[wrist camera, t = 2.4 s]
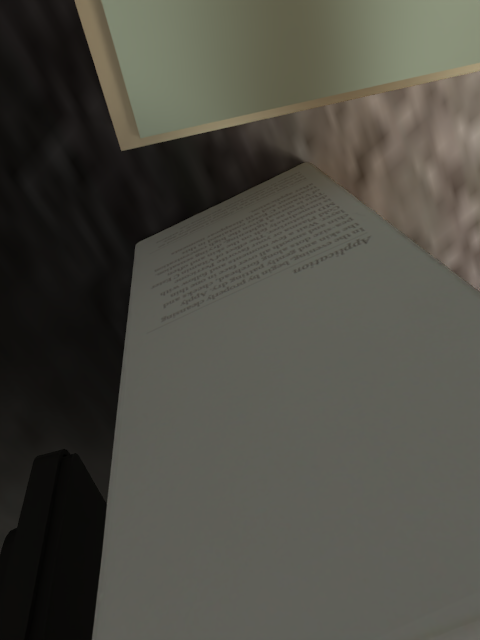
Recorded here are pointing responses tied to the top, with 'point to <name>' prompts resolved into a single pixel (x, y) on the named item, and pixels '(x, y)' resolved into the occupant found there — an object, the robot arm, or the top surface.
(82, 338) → the top surface
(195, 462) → the small box
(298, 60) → the plinth
